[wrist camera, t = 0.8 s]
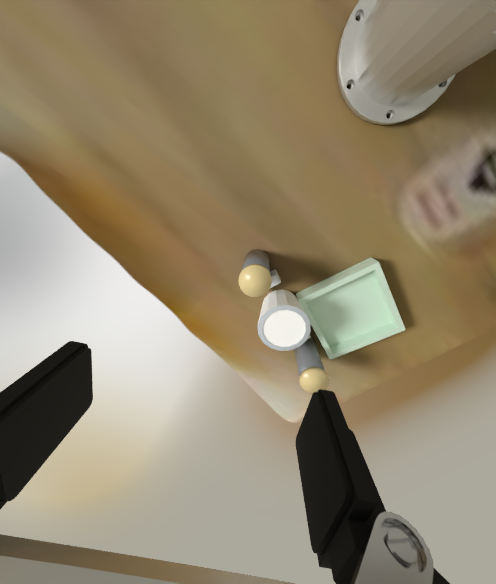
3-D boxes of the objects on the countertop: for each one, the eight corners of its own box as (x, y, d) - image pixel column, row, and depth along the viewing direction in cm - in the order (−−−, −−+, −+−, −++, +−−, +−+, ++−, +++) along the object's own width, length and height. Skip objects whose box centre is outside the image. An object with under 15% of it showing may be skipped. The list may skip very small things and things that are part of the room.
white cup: (311, 309, 38) (321, 333, 31) (276, 332, 40) (278, 360, 33) (285, 276, 36) (289, 294, 29) (249, 302, 38) (246, 325, 31)
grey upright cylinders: (262, 244, 34) (261, 259, 26) (319, 348, 40) (333, 387, 32) (239, 256, 35) (232, 275, 27) (298, 356, 41) (307, 396, 33)
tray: (370, 257, 34) (378, 261, 32) (396, 321, 38) (405, 329, 35) (295, 293, 37) (297, 300, 34) (326, 350, 40) (330, 359, 38)
